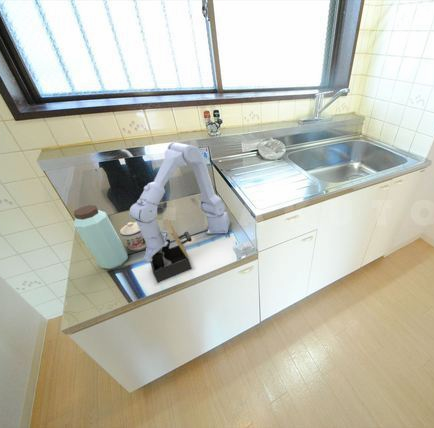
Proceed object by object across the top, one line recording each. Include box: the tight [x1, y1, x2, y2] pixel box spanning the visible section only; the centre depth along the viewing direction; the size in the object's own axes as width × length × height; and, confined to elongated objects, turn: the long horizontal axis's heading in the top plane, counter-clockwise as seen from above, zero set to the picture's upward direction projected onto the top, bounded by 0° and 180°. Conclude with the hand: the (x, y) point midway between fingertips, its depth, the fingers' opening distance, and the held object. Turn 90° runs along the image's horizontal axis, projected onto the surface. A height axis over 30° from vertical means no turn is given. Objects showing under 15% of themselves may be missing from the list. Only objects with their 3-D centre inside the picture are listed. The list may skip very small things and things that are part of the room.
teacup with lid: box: [119, 221, 147, 251], centre depth 100 cm, size 12×9×12 cm
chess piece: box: [158, 248, 172, 268], centre depth 88 cm, size 4×4×10 cm
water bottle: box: [73, 204, 129, 270], centre depth 87 cm, size 10×10×25 cm
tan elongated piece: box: [164, 218, 193, 259], centre depth 87 cm, size 13×10×5 cm
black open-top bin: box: [150, 244, 193, 284], centre depth 90 cm, size 12×10×6 cm
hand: (163, 261), depth 89 cm, fingers open, 4 cm apart
